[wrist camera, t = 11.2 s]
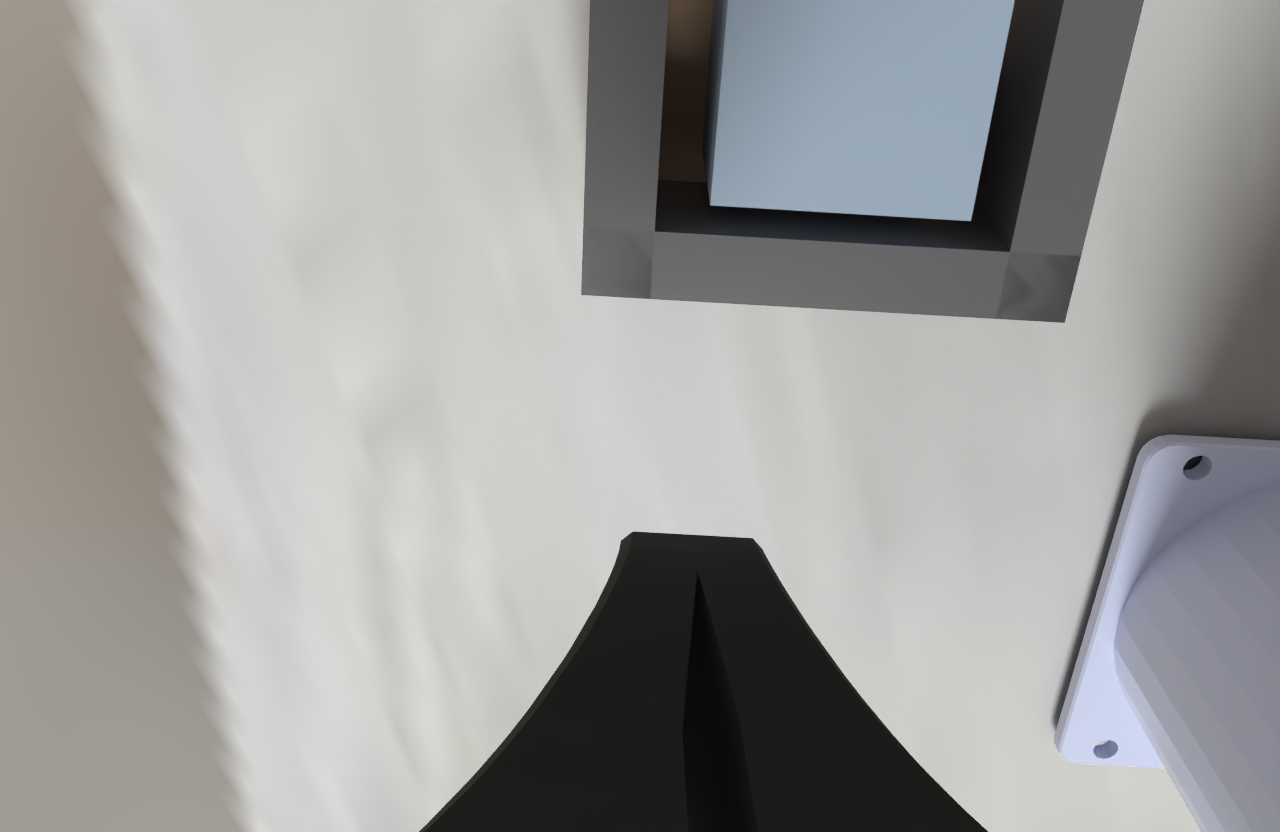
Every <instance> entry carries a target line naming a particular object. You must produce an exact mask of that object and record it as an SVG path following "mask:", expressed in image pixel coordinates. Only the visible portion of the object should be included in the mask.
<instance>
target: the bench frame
mask: <svg viewBox="0 0 1280 832" xmlns="http://www.w3.org/2000/svg"><path fill="white" fill-rule="evenodd" d="M1143 2H1144V0H1015V1H1014V7H1013V12H1012V17H1011V22H1010V27H1009V32H1008V37H1007V42H1006V47H1005V52H1004V57H1003V62H1002V67H1001V72H1000V77H999V82H998V87H997V92H996V97H995V102H994V107H993V112H992V117H991V122H990V127H989V133H988V138H987V143H986V148H985V153H984V158H983V163H982V168H981V173H980V178H979V183H978V188H977V193H976V198H975V203H974V208H973V213H972V218H971V221H960V220H944V219H927V218H911V217H894V216H878V215H861V214H845V213H828V212H812V211H795V210H779V209H762V208H746V207H729V206H713V205H710V200H709V193H708V187H707V180H706V173H705V166H704V159H703V153H702V142H703V129H704V117H705V105H706V92H707V80H708V68H709V55H710V43H711V31H712V18H713V6H714V0H590V30H589V63H588V95H587V128H586V161H585V194H584V227H583V260H582V292H581V295H592V296H610V297H627V298H645V299H662V300H679V301H697V302H714V303H732V304H749V305H767V306H784V307H801V308H819V309H836V310H854V311H871V312H889V313H906V314H923V315H941V316H958V317H976V318H993V319H1011V320H1028V321H1045V322H1063V323H1065V319H1066V314H1067V310H1068V306H1069V302H1070V298H1071V294H1072V290H1073V286H1074V282H1075V278H1076V274H1077V270H1078V266H1079V262H1080V258H1081V254H1082V249H1083V245H1084V241H1085V237H1086V233H1087V229H1088V225H1089V221H1090V217H1091V213H1092V209H1093V205H1094V201H1095V197H1096V193H1097V189H1098V185H1099V180H1100V176H1101V172H1102V168H1103V164H1104V160H1105V156H1106V152H1107V148H1108V144H1109V140H1110V136H1111V132H1112V128H1113V124H1114V120H1115V115H1116V111H1117V107H1118V103H1119V99H1120V95H1121V91H1122V87H1123V83H1124V79H1125V75H1126V71H1127V67H1128V63H1129V59H1130V55H1131V50H1132V46H1133V42H1134V38H1135V34H1136V30H1137V26H1138V22H1139V18H1140V14H1141V10H1142V6H1143Z"/></svg>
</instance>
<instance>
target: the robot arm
mask: <svg viewBox="0 0 1280 832" xmlns="http://www.w3.org/2000/svg"><path fill="white" fill-rule="evenodd" d="M1196 456H1202V460H1201V461H1200V463H1199V465H1197V466H1196V467H1194V468H1193V469H1189V470H1183V467H1184V465H1185V464H1186V462H1187V461H1188V460H1190V459H1191V458H1193V457H1196ZM1105 740H1109V741H1108V742H1106V743H1105V744H1103V745H1097V746H1096V744H1098V743H1099V742H1101V741H1105ZM1054 743H1055V745H1056V747H1057V749H1058V751H1059V753H1060V755H1061V757H1062V758H1063V759H1065V760H1066V761H1068V762H1071V763H1075V764H1090V765H1108V766H1126V767H1145V768H1163V769H1166V771H1167V772H1168V774H1169V776H1170V778H1171V779H1172V781H1173V783H1174V785H1175V786H1176V788H1177V790H1178V792H1179V793H1180V795H1181V797H1182V799H1183V800H1184V802H1185V804H1186V806H1187V807H1188V809H1189V811H1190V813H1191V814H1192V816H1193V818H1194V820H1195V821H1196V823H1197V825H1198V827H1199V828H1200V830H1201V832H1280V441H1276V440H1258V439H1241V438H1223V437H1206V436H1188V435H1162V436H1158V437H1156V438H1154V439H1152V440H1150V441H1148V442H1147V443H1146V444H1145V445H1144V446H1143V447H1142V448H1141V450H1140V452H1139V454H1138V456H1137V459H1136V462H1135V466H1134V469H1133V472H1132V476H1131V479H1130V482H1129V486H1128V489H1127V493H1126V496H1125V499H1124V503H1123V506H1122V509H1121V513H1120V516H1119V520H1118V523H1117V526H1116V530H1115V533H1114V536H1113V540H1112V543H1111V547H1110V550H1109V553H1108V557H1107V560H1106V563H1105V567H1104V570H1103V574H1102V577H1101V580H1100V584H1099V587H1098V590H1097V594H1096V597H1095V601H1094V604H1093V607H1092V611H1091V614H1090V617H1089V621H1088V624H1087V628H1086V631H1085V634H1084V638H1083V641H1082V644H1081V648H1080V651H1079V655H1078V658H1077V661H1076V665H1075V668H1074V671H1073V675H1072V678H1071V682H1070V685H1069V688H1068V692H1067V695H1066V698H1065V702H1064V705H1063V709H1062V712H1061V715H1060V719H1059V722H1058V725H1057V729H1056V732H1055V736H1054ZM419 832H988V831H987V830H986V829H985V828H984V827H982V826H981V825H980V824H979V823H978V822H977V821H976V820H975V819H974V818H973V817H972V816H970V815H969V814H968V813H967V812H966V811H965V810H964V809H963V808H962V807H961V806H960V805H959V804H958V803H957V802H956V801H955V800H954V799H953V798H952V797H951V796H950V795H949V794H948V793H947V792H946V791H945V790H944V789H943V788H942V787H941V786H940V785H939V784H938V783H937V782H936V781H935V780H934V779H933V778H932V777H931V776H930V775H929V774H928V773H927V772H926V771H925V770H924V769H923V768H922V767H921V766H920V765H919V764H918V762H917V761H916V760H915V759H914V758H913V757H912V756H911V755H910V754H909V753H908V751H907V750H906V749H905V748H904V747H903V746H902V745H901V744H900V742H899V741H898V740H897V739H896V738H895V737H894V736H893V735H892V733H891V732H890V731H889V730H888V729H887V727H886V726H885V725H884V724H883V723H882V721H881V720H880V719H879V718H878V717H877V715H876V714H875V713H874V712H873V711H872V709H871V708H870V707H869V706H868V705H867V703H866V702H865V701H864V700H863V698H862V697H861V696H860V695H859V693H858V692H857V691H856V689H855V688H854V687H853V686H852V684H851V683H850V682H849V681H848V679H847V678H846V677H845V675H844V674H843V673H842V671H841V670H840V668H839V667H838V666H837V664H836V663H835V662H834V660H833V659H832V657H831V656H830V655H829V653H828V652H827V651H826V649H825V648H824V646H823V645H822V644H821V642H820V641H819V640H818V638H817V637H816V635H815V634H814V632H813V631H812V630H811V628H810V627H809V625H808V624H807V622H806V621H805V619H804V618H803V616H802V615H801V613H800V612H799V610H798V609H797V607H796V605H795V604H794V602H793V601H792V599H791V598H790V596H789V595H788V593H787V591H786V590H785V588H784V586H783V585H782V583H781V582H780V580H779V578H778V576H777V575H776V573H775V571H774V570H773V568H772V566H771V564H770V563H769V561H768V559H767V557H766V555H765V554H764V552H763V550H762V548H761V547H760V546H759V545H758V544H757V543H756V542H755V540H754V539H753V538H737V537H719V536H701V535H683V534H666V533H648V532H632V533H631V534H629V535H628V536H627V537H625V538H624V539H623V540H621V544H620V549H619V553H618V556H617V559H616V562H615V565H614V567H613V570H612V572H611V575H610V577H609V579H608V581H607V584H606V586H605V588H604V590H603V592H602V594H601V596H600V598H599V600H598V602H597V604H596V606H595V608H594V609H593V611H592V613H591V614H590V616H589V618H588V620H587V621H586V623H585V625H584V627H583V628H582V630H581V632H580V633H579V635H578V637H577V639H576V640H575V642H574V644H573V645H572V647H571V649H570V650H569V652H568V653H567V655H566V657H565V658H564V660H563V661H562V663H561V664H560V665H559V667H558V668H557V670H556V671H555V673H554V674H553V675H552V677H551V678H550V680H549V681H548V683H547V684H546V685H545V687H544V688H543V690H542V691H541V693H540V694H539V695H538V697H537V698H536V700H535V701H534V703H533V704H532V705H531V707H530V708H529V709H528V711H527V712H526V713H525V715H524V716H523V717H522V719H521V720H520V721H519V722H518V724H517V725H516V726H515V727H514V729H513V730H512V731H511V733H510V734H509V735H508V736H507V737H506V739H505V740H504V741H503V742H502V744H501V745H500V746H499V747H498V748H497V749H496V751H495V752H494V753H493V754H492V755H491V756H490V758H489V759H488V760H487V761H486V762H485V763H484V764H483V766H482V767H481V768H480V769H479V770H478V771H477V772H476V774H475V775H474V776H473V777H472V778H471V779H470V780H469V781H468V782H467V783H466V784H465V785H464V786H463V787H462V789H461V790H460V791H459V792H458V793H457V794H456V795H455V796H454V797H453V798H452V799H451V800H450V801H449V802H448V803H447V804H446V805H445V806H444V807H443V808H442V809H441V810H440V811H439V812H438V813H437V814H436V815H435V816H434V817H433V818H432V819H431V820H430V822H429V823H428V824H427V825H426V826H425V827H423V828H422V829H421V830H420V831H419Z"/></svg>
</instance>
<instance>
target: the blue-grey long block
mask: <svg viewBox="0 0 1280 832" xmlns="http://www.w3.org/2000/svg"><path fill="white" fill-rule="evenodd" d="M1014 1H1015V0H714V6H713V18H712V31H711V43H710V55H709V68H708V80H707V92H706V105H705V117H704V129H703V142H702V153H703V159H704V166H705V173H706V180H707V187H708V193H709V200H710V205H713V206H729V207H746V208H762V209H779V210H795V211H812V212H828V213H845V214H861V215H878V216H894V217H911V218H927V219H944V220H960V221H971V218H972V213H973V208H974V203H975V198H976V193H977V188H978V183H979V178H980V173H981V168H982V163H983V158H984V153H985V148H986V143H987V138H988V133H989V127H990V122H991V117H992V112H993V107H994V102H995V97H996V92H997V87H998V82H999V77H1000V72H1001V67H1002V62H1003V57H1004V52H1005V47H1006V42H1007V37H1008V32H1009V27H1010V22H1011V17H1012V12H1013V7H1014Z"/></svg>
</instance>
